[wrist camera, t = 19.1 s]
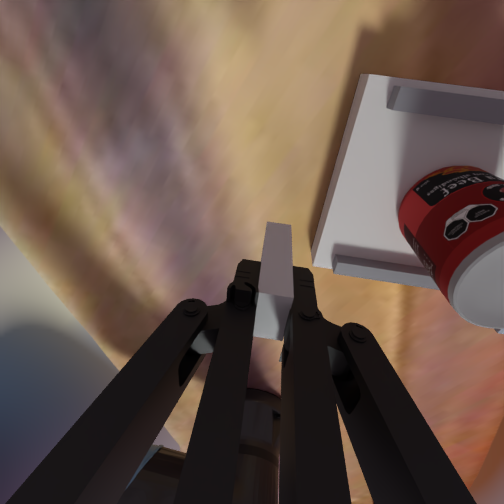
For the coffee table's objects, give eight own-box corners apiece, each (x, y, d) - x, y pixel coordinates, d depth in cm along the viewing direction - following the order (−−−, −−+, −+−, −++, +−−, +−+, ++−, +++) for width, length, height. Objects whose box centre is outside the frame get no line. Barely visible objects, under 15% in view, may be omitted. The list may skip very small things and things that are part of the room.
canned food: (509, 163, 22) (662, 228, 13) (465, 245, 26) (557, 335, 17) (411, 160, 23) (492, 219, 14) (385, 240, 27) (433, 325, 18)
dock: (461, 274, 32) (514, 335, 24) (310, 251, 32) (317, 304, 25) (584, 102, 22) (737, 118, 14) (360, 73, 22) (396, 74, 15)
